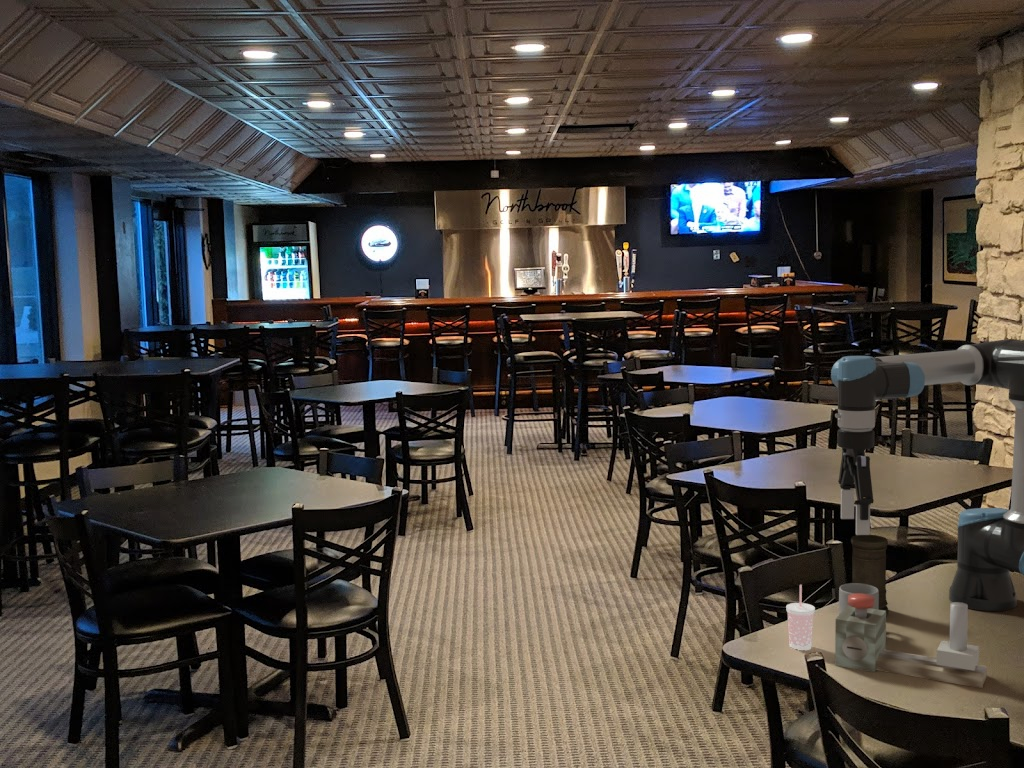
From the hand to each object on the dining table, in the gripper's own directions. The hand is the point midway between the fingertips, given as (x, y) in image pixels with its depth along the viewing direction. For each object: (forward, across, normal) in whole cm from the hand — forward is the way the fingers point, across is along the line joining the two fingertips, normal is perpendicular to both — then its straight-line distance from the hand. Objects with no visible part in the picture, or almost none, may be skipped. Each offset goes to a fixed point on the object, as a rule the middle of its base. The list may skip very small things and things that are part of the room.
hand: (854, 526), depth 222 cm
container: (+27, -24, +9) cm, 38 cm away
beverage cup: (+27, -1, -11) cm, 30 cm away
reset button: (+19, +7, 0) cm, 20 cm away
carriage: (+24, +16, +17) cm, 33 cm away
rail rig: (+27, +12, +9) cm, 31 cm away
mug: (+27, -9, +4) cm, 29 cm away
